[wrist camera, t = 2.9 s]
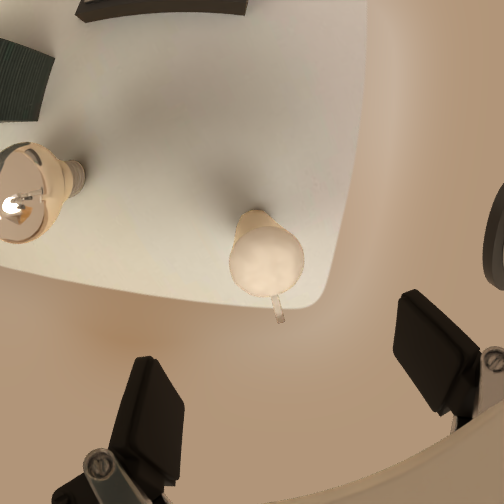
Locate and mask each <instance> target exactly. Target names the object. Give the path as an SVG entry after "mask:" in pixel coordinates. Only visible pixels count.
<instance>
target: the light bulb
mask: <svg viewBox="0 0 504 504" xmlns="http://www.w3.org/2000/svg"><path fill="white" fill-rule="evenodd" d="M84 182H85V172H84V169H83V167H82V165H81V164H80V163H79V162H77V161H75V160H68V161H62V160H58V159H57V158H56V157H55V156H54V154H53V153H52V152H51V151H50V150H49V149H47V148H45V147H44V146H42V145H40V144H37V143H32V142H21V143H17V144H14V145H11V146H9V147H7V148H6V149H4V150H2V151H1V152H0V239H1V240H3V241H4V242H8V243H13V244H21V243H28V242H30V241H33V240H35V239H37V238H39V237H40V236H42V235H43V234H44V233H45V232H46V231H48V230H49V229H50V227H51V226H52V225H53V223H54V222H55V221H56V219H57V217H58V215H59V213H60V211H61V208H62V205H63V203H64V202H65V201H66V200H67V199H68V198H70V197H72V196H75V195H76V194H78V193H79V192H80V191H81V189H82V187H83V185H84Z"/></svg>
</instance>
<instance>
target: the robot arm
mask: <svg viewBox="0 0 504 504" xmlns="http://www.w3.org/2000/svg"><path fill="white" fill-rule="evenodd" d="M503 266H504V246H503ZM479 350H480V348H479V347H478V346H477V345H476V344H475V343H474V342H473V341H472V340H471V339H470V338H469V337H468V336H467V335H466V334H465V333H464V332H463V331H462V330H461V329H460V328H459V327H458V326H456V324H455V323H453V322H452V321H451V320H450V319H449V318H448V317H447V316H446V315H445V314H444V313H443V312H442V311H441V310H439V309H438V308H437V307H436V306H435V305H434V304H433V303H432V302H430V301H429V300H428V299H427V298H426V297H425V296H424V295H423V294H421V293H420V292H419V291H418V290H416V289H414V290H411V291H408V292H405V293H403V294H402V296H401V298H400V299H399V301H398V310H397V320H396V328H395V336H394V343H393V353H394V355H395V357H396V358H397V360H398V361H399V363H400V364H401V365H402V367H403V368H404V369H405V371H406V372H407V374H408V375H409V377H410V378H411V380H412V381H413V383H414V384H415V385H416V387H417V388H418V390H419V391H420V393H421V394H422V396H423V397H424V399H425V400H426V402H427V403H428V405H429V406H430V408H431V409H432V411H434V412H437V413H438V414H439V416H442V415H444V414H446V413H447V412H449V411H450V410H451V411H452V413H453V414H454V416H453V422H452V428H451V433H450V435H449V436H447V437H446V438H444V439H442V440H441V441H439V442H437V443H435V444H434V445H432V446H430V447H429V448H427V449H425V450H423V451H421V452H419V453H418V454H416V455H414V456H412V457H410V458H408V459H406V460H404V461H402V462H400V463H397V464H396V465H393V466H391V467H389V468H387V469H384V470H382V471H379V472H377V473H375V474H372V475H370V476H367V477H365V478H362V479H359V480H357V481H354V482H351V483H348V484H345V485H342V486H338V487H335V488H332V489H328V490H325V491H321V492H318V493H314V494H310V495H306V496H301V497H297V498H293V499H287V500H281V501H276V502H270V503H263V504H504V349H503V348H501V347H497V346H493V347H489V348H487V349H485V350H484V351H483V353H481V352H480V351H479ZM184 411H185V408H184V403H183V401H182V399H181V398H180V396H179V395H178V393H177V391H176V390H175V388H174V387H173V385H172V383H171V382H170V380H169V379H168V377H167V375H166V374H165V372H164V370H163V369H162V367H161V365H160V363H159V362H158V360H157V359H153V357H151V356H146V357H137V358H136V359H135V362H134V365H133V368H132V371H131V374H130V377H129V380H128V383H127V386H126V389H125V392H124V395H123V397H122V400H121V404H120V407H119V410H118V414H117V417H116V421H115V424H114V428H113V432H112V435H111V439H110V443H109V447H108V449H104V448H99V449H95V450H93V451H91V452H90V453H89V454H88V455H87V456H86V458H85V460H84V462H83V469H84V473H82V474H81V475H79V476H77V477H76V478H74V479H73V480H71V481H70V482H68V483H66V484H65V485H63V486H62V487H60V488H58V489H57V490H56V491H55V492H54V494H53V495H52V504H173V503H172V502H171V501H170V500H169V499H168V497H167V496H166V495H165V494H164V486H175V483H176V482H175V481H176V480H178V479H179V477H180V461H181V445H182V433H183V421H184Z"/></svg>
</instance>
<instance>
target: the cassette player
mask: <svg viewBox="0 0 504 504" xmlns="http://www.w3.org/2000/svg"><path fill="white" fill-rule="evenodd" d="M54 60H55V58H54V57H51V56H49V55H46V54H44V53H41V52H39V51H36V50H33V49H31V48H28V47H25V46H23V45H20V44H17V43H14V42H11V41H8V40H5V39H2V38H0V123H2V122H28V121H38V117H39V112H40V108H41V104H42V100H43V96H44V92H45V88H46V85H47V81H48V78H49V75H50V72H51V69H52V66H53V63H54Z"/></svg>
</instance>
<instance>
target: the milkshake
mask: <svg viewBox="0 0 504 504" xmlns="http://www.w3.org/2000/svg"><path fill="white" fill-rule="evenodd" d="M229 267H230V272H231V275H232V278H233V280H234V282H235V283H236V285H237V286H239V287H240V288H241V289H243V290H244V291H245V292H247V293H248V294H250V295H253V296H256V297H271V300H272V304H273V308H274V311H275V315H276V319H277V323H283V322H285V319H284V315H283V311H282V308H281V304H280V300H279V297H278V295H279V294H281V293H283V292H285V291H287V290H289V289H290V288H291V287H293V286H294V284H295V283H296V282H297V280H298V279H299V277H300V275H301V273H302V271H303V267H304V253H303V249H302V246H301V244H300V243H299V241H298V240H297V238H296V237H295V236H294V235H292V234H291V233H289V232H288V231H287V230H286V229H284V228H283V227H282V226H280V225H279V224H278V223H277V222H276V221H274V220H273V219H272V218H271V217H270V216H269V215H268V214H267V213H266V212H264V211H263V210H250V211H248V212H246V213H245V214H243V215H241V217H240V220H239V222H238V224H237V226H236V232H235V238H234V243H233V247H232V251H231V253H230V258H229Z"/></svg>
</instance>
